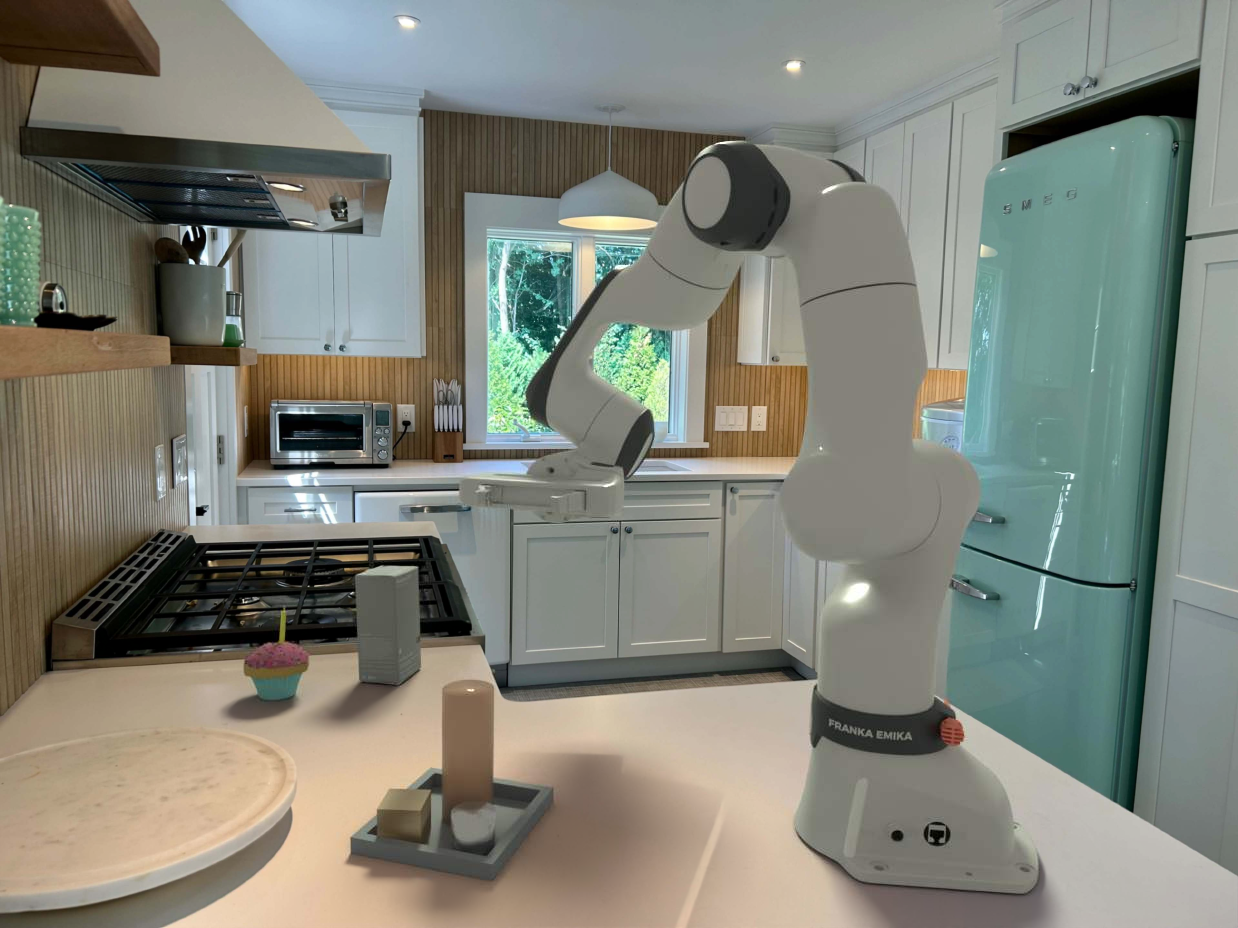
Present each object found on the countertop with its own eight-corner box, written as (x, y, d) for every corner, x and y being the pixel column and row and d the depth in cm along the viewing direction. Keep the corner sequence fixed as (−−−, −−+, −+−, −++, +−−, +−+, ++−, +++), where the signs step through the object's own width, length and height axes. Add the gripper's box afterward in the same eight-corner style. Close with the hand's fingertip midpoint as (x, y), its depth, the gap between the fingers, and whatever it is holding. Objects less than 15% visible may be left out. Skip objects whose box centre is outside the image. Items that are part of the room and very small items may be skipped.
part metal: (502, 845, 82) (502, 804, 82) (483, 868, 78) (483, 825, 78) (463, 838, 83) (463, 797, 83) (442, 860, 79) (442, 817, 79)
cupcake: (265, 681, 126) (264, 599, 125) (322, 685, 125) (320, 602, 124) (231, 703, 117) (229, 615, 116) (291, 708, 116) (290, 619, 115)
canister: (501, 807, 89) (502, 683, 88) (479, 832, 84) (480, 700, 83) (456, 799, 90) (456, 677, 89) (432, 823, 86) (432, 693, 84)
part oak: (431, 829, 85) (431, 789, 84) (420, 852, 81) (420, 810, 80) (389, 828, 85) (389, 788, 84) (377, 850, 81) (376, 808, 80)
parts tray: (553, 810, 91) (553, 787, 91) (492, 891, 76) (492, 864, 76) (430, 789, 95) (430, 767, 94) (350, 863, 80) (350, 836, 80)
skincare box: (399, 686, 125) (398, 577, 123) (352, 682, 126) (351, 573, 125) (424, 667, 133) (423, 564, 132) (380, 663, 135) (379, 561, 133)
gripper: (485, 459, 117) (435, 469, 103) (635, 467, 111) (602, 479, 98) (485, 506, 117) (435, 522, 104) (634, 516, 112) (600, 535, 98)
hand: (517, 501), depth 101 cm, fingers open, 8 cm apart
